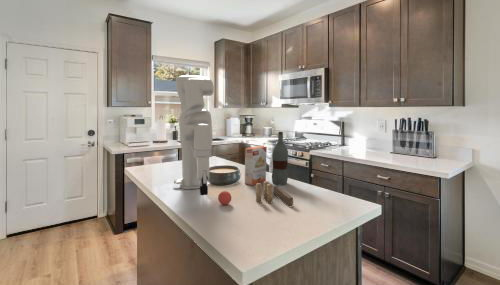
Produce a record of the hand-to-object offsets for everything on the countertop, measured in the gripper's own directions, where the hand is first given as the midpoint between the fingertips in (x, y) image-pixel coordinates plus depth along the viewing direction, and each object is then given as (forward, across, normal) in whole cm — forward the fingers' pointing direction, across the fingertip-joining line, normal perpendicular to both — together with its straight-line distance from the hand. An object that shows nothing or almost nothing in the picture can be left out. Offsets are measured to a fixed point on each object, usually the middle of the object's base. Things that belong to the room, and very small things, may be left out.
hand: (203, 194), depth 125 cm
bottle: (+5, -29, +46) cm, 55 cm away
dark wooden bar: (+6, -1, +37) cm, 38 cm away
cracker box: (+5, -34, +33) cm, 48 cm away
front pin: (+6, -1, +25) cm, 26 cm away
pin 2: (+6, +2, +30) cm, 30 cm away
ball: (+3, -1, +9) cm, 10 cm away
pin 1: (+6, -3, +30) cm, 31 cm away
